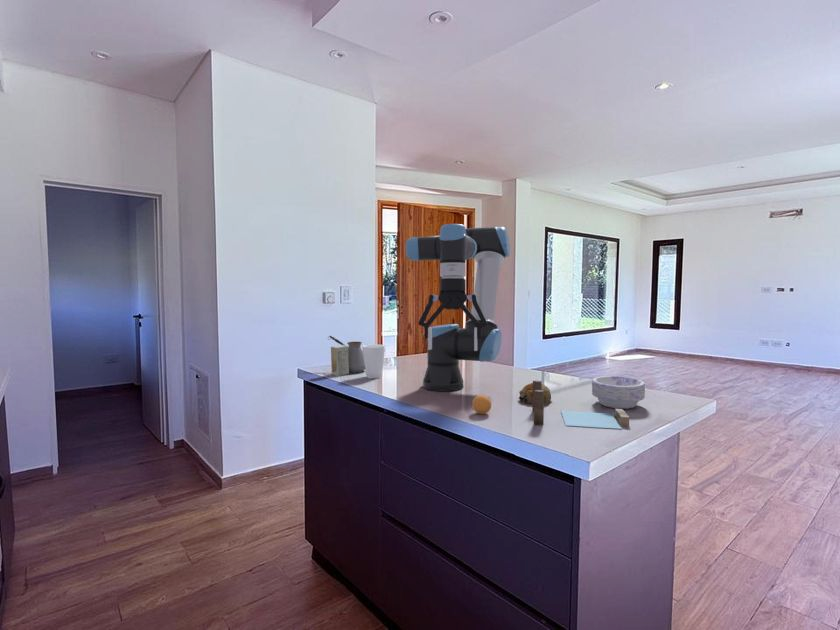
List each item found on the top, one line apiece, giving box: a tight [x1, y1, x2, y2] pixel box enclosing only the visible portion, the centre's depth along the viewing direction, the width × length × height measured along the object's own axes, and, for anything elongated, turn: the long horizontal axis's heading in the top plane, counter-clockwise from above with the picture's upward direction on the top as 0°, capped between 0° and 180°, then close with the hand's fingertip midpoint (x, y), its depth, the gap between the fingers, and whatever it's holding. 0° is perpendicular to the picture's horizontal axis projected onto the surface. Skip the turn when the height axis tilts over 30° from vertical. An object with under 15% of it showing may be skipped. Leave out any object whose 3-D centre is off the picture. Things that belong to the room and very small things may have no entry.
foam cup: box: [361, 343, 386, 379], centre depth 184 cm, size 10×9×13 cm
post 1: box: [532, 379, 543, 412], centre depth 134 cm, size 3×3×9 cm
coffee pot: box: [327, 335, 366, 374], centre depth 200 cm, size 21×12×15 cm, turn 57°
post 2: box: [533, 390, 545, 426], centre depth 122 cm, size 3×3×9 cm
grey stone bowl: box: [591, 375, 646, 410], centre depth 140 cm, size 15×15×8 cm
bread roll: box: [518, 382, 553, 405], centre depth 145 cm, size 10×10×8 cm
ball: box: [471, 394, 492, 415], centre depth 131 cm, size 6×6×6 cm
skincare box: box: [330, 344, 350, 377], centre depth 190 cm, size 6×4×12 cm
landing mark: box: [560, 410, 622, 430], centre depth 125 cm, size 14×14×1 cm
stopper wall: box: [614, 408, 630, 427], centre depth 123 cm, size 8×2×2 cm, turn 167°
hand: (452, 349), depth 132 cm, fingers open, 13 cm apart
